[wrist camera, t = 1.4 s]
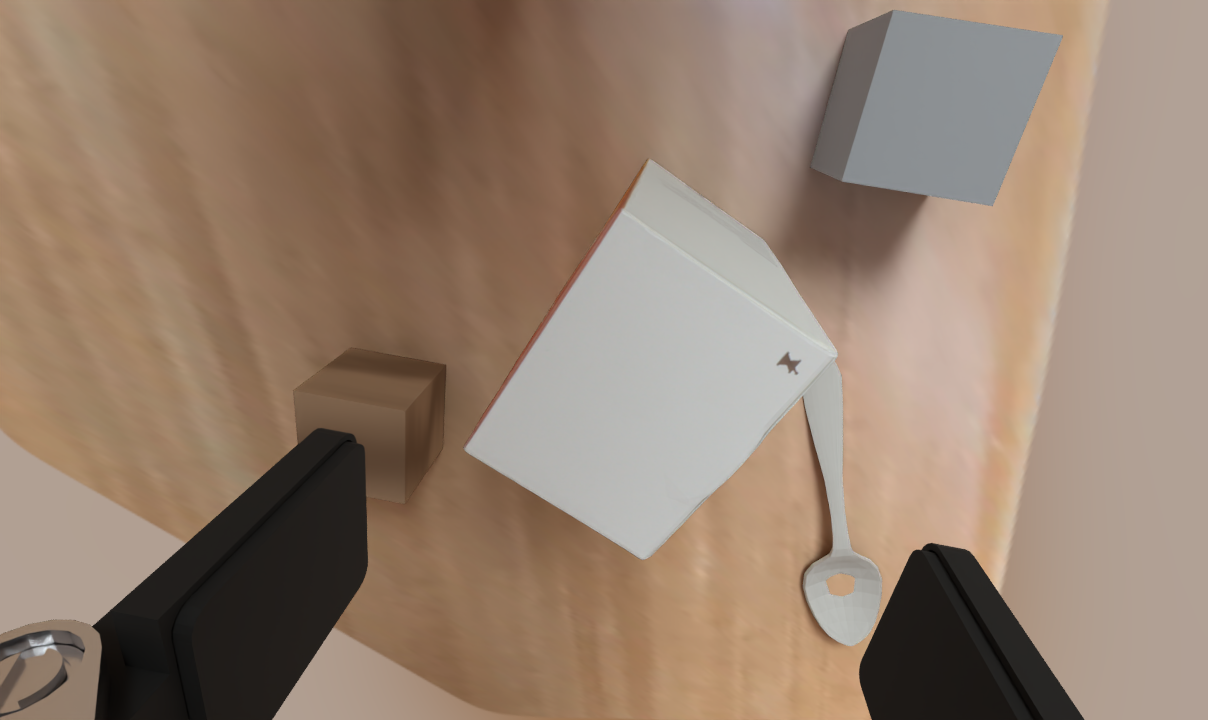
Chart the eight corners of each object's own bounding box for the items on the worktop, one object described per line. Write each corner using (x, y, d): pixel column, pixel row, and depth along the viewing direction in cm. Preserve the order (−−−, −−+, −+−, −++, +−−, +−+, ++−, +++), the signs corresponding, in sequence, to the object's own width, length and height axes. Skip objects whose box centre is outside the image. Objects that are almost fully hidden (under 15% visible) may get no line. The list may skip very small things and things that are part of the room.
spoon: (806, 627, 34) (812, 651, 33) (763, 296, 27) (768, 307, 25) (881, 621, 33) (891, 646, 32) (858, 279, 26) (869, 290, 24)
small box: (647, 154, 24) (622, 198, 13) (768, 239, 25) (851, 356, 13) (550, 305, 28) (455, 454, 16) (659, 376, 28) (649, 569, 17)
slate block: (847, 30, 22) (893, 9, 17) (981, 50, 22) (1063, 35, 17) (809, 167, 24) (841, 181, 19) (931, 187, 24) (992, 205, 19)
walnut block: (351, 347, 30) (293, 390, 25) (446, 364, 30) (405, 411, 25) (354, 430, 32) (301, 484, 27) (443, 446, 32) (404, 504, 27)
